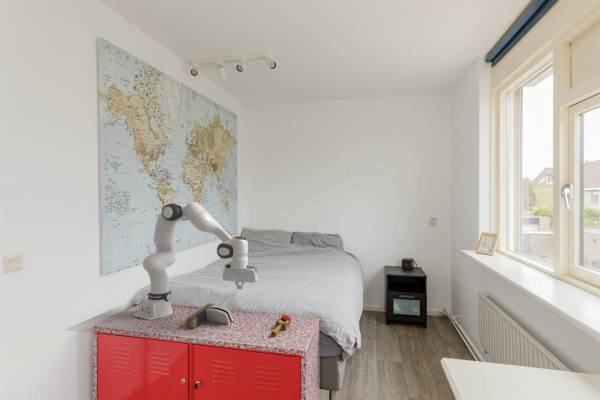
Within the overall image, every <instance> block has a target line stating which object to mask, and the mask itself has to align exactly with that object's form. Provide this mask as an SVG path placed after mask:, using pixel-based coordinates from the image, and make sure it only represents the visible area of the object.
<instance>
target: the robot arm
mask: <svg viewBox="0 0 600 400" xmlns="http://www.w3.org/2000/svg"><path fill="white" fill-rule="evenodd" d="M183 221H190V223H191V224H192V225H193V226H194V227H195V229H197V230H198V231H200V232H204V233H210V234H212V235H215V236H216V237H217V238H218V239H219V240H220V241H221V243H219V244H218V245H217V247H216V255H217V256H218V257H219V258H220V259H224V260H226V259H230V258H231V259H232V260H231V261H230V262H227V263H225V264H224V266H223V268H224V269H223V271H222V280H223V281H225V282H226V281H227V282H234V284H235V286H236V289H237V290H243V289H244V287H243V286H244V284H245V283H251V284H252V283H253V284H254V283H256V282H257V281H258V268H257V266H255V265H249V257H248V254H249V243H248V239H247V238H246V237H244V236H232V235H231V233H229V232H228V231H227V230H226V229H225V228H224V227H223V225H221V224H220V223H219V222H218V221H217V220H216V219H214V218H213V216H212V215H211V214H210V213H209V212H208V211H207V209H205V207H203V206H202V205H201V204H200V203H198V202H197V201H190V202H188V203H187V202H186V203H183V202H176V203H168V204H165V205H164V206H163V207H162V210H161V213H159V214H158V217H157V219H156V222H155V223H156V224H155V228H154V232H153V233H154V236H153V243H154V244H155V248H156V252H153V253H151V254H149V255H147V256H146V257H145V258H144V259H143V261H142V267H143V269H144V270H145V271H146V272H147V273H148V277H149V281H150V292H148V293H147V294H146V297H147V298H146V299H145V300H144V301H143V302H142V303H140V304H139V306H138V310H137V311H136V312H135V313H133V317H134V316H135V317H134V318H138V317H140V318H139V319H143V318H144V320H147V321H148V320H149V321H153V320H156V319H161V318H166V317H169V316H171V315H172V314H173V313H174V311H173V308H172V301H171V297H172V290H171V278H170V276H169V275H168V273H167V270H166V269H167V268H168V267H171V266H172V265H173V264H174V263H175V262H176V261H177V254H176V252H175V251H174V250H175V249H174V237H175V236H174V235H175V229H176V228H175V226H176V224H177V223H178V222H183ZM239 283H241V285H240V284H239Z"/></svg>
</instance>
